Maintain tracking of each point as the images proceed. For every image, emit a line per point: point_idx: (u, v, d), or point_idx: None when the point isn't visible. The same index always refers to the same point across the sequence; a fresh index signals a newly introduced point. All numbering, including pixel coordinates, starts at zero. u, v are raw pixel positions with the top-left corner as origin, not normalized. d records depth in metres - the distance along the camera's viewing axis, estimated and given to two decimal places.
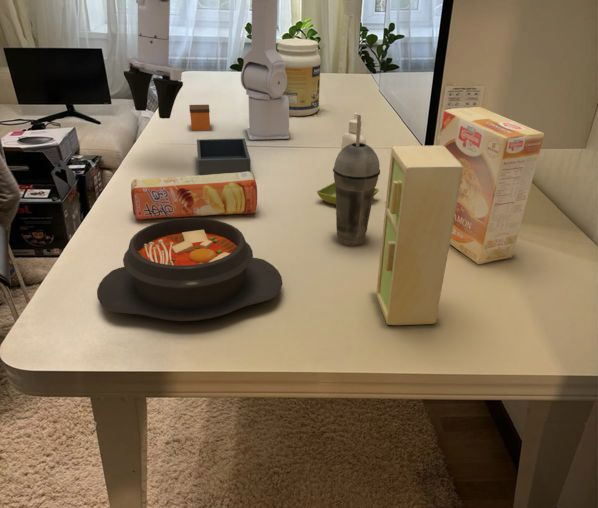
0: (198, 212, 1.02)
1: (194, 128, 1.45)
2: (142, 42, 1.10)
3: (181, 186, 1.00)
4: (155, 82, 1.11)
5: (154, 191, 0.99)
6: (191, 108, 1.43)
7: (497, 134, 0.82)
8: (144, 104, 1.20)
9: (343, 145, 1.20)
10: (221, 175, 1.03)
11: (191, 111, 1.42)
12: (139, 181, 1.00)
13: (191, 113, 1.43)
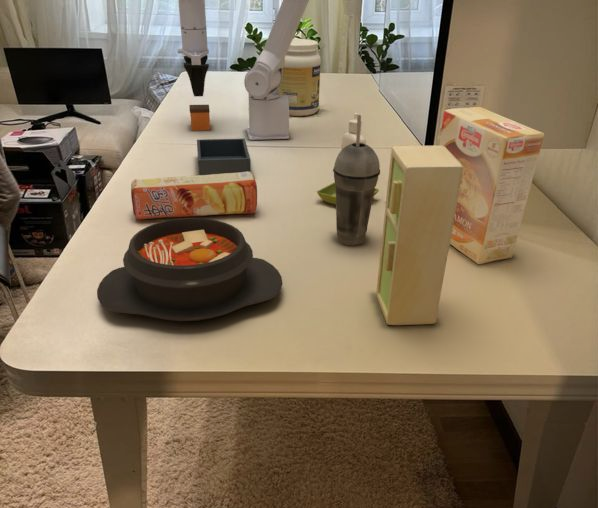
0: (198, 212, 1.02)
1: (194, 128, 1.45)
2: (181, 33, 1.34)
3: (181, 186, 1.00)
4: None
5: (154, 191, 0.99)
6: (191, 108, 1.43)
7: (497, 134, 0.82)
8: None
9: (343, 145, 1.20)
10: (221, 175, 1.03)
11: (191, 111, 1.42)
12: (139, 181, 1.00)
13: (191, 113, 1.43)
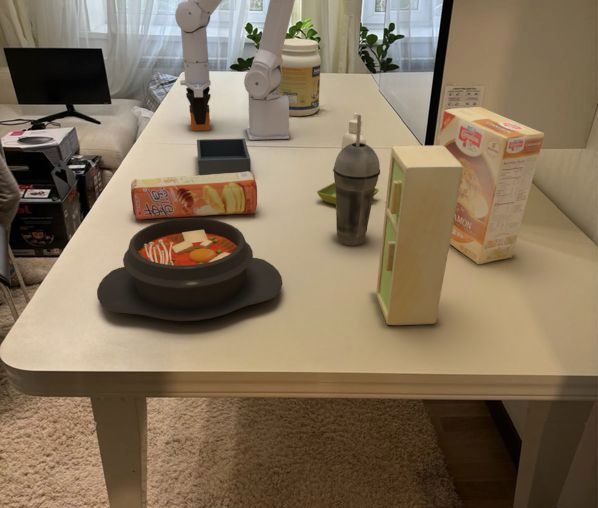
0: (198, 212, 1.02)
1: (194, 128, 1.45)
2: (184, 65, 1.38)
3: (181, 186, 1.00)
4: None
5: (154, 191, 0.99)
6: (191, 108, 1.43)
7: (497, 134, 0.82)
8: None
9: (343, 145, 1.20)
10: (221, 175, 1.03)
11: (191, 111, 1.42)
12: (139, 181, 1.00)
13: (191, 113, 1.43)
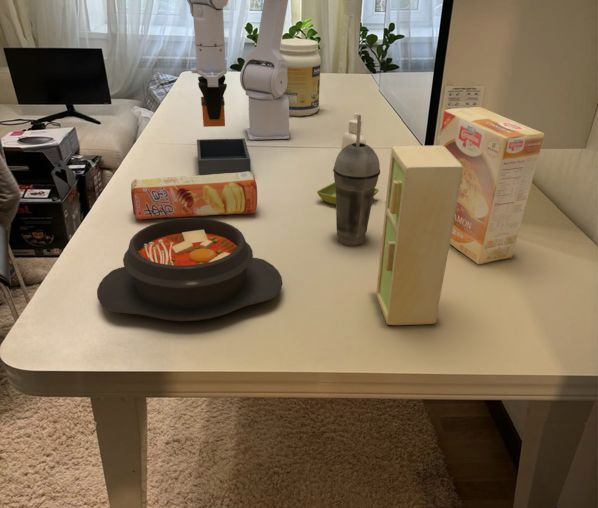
0: (198, 212, 1.02)
1: (206, 124, 1.24)
2: (196, 50, 1.17)
3: (181, 186, 1.00)
4: None
5: (154, 191, 0.99)
6: (203, 100, 1.22)
7: (497, 134, 0.82)
8: None
9: (343, 145, 1.20)
10: (221, 175, 1.03)
11: (203, 104, 1.22)
12: (139, 181, 1.00)
13: (203, 106, 1.22)
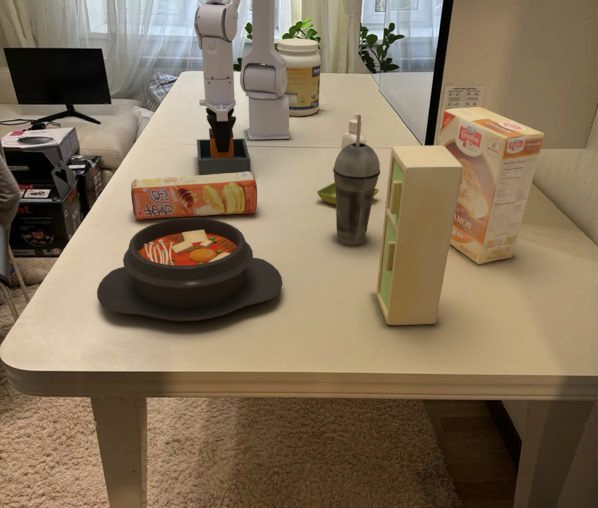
0: (198, 212, 1.02)
1: (214, 156, 1.21)
2: (204, 82, 1.14)
3: (181, 186, 1.00)
4: None
5: (154, 191, 0.99)
6: (211, 133, 1.19)
7: (497, 134, 0.82)
8: None
9: (343, 145, 1.20)
10: (221, 175, 1.03)
11: (211, 136, 1.18)
12: (139, 181, 1.00)
13: (211, 139, 1.18)
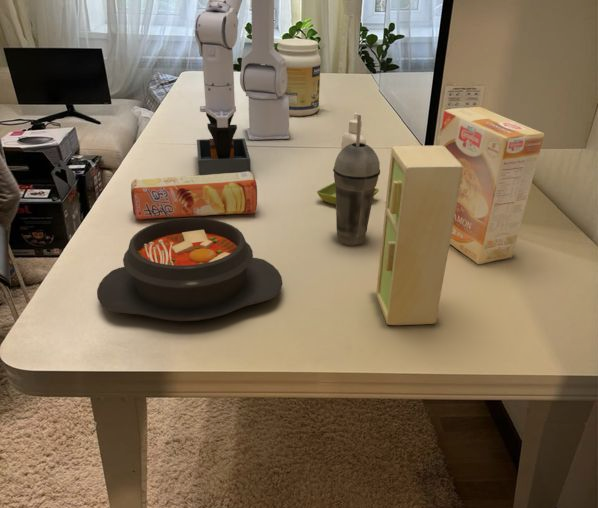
0: (198, 212, 1.02)
1: None
2: None
3: (181, 186, 1.00)
4: None
5: (154, 191, 0.99)
6: (212, 143, 1.20)
7: (497, 134, 0.82)
8: None
9: (343, 145, 1.20)
10: (221, 175, 1.03)
11: (212, 147, 1.19)
12: (139, 181, 1.00)
13: (211, 149, 1.20)
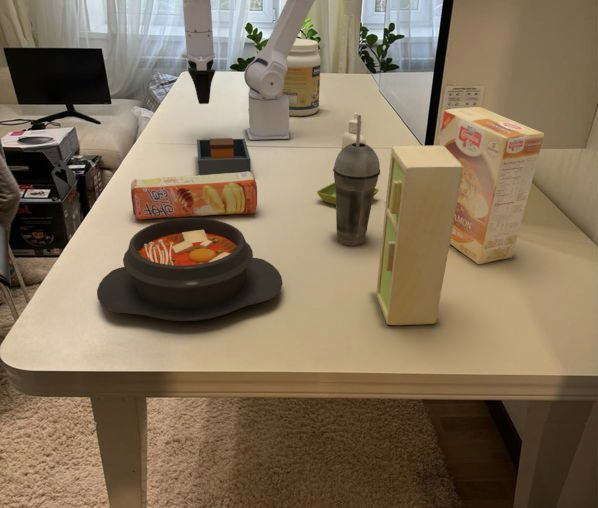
0: (198, 212, 1.02)
1: None
2: (185, 36, 1.24)
3: (181, 186, 1.00)
4: None
5: (154, 191, 0.99)
6: (212, 143, 1.20)
7: (497, 134, 0.82)
8: None
9: (343, 145, 1.20)
10: (221, 175, 1.03)
11: (212, 147, 1.19)
12: (139, 181, 1.00)
13: (211, 149, 1.20)
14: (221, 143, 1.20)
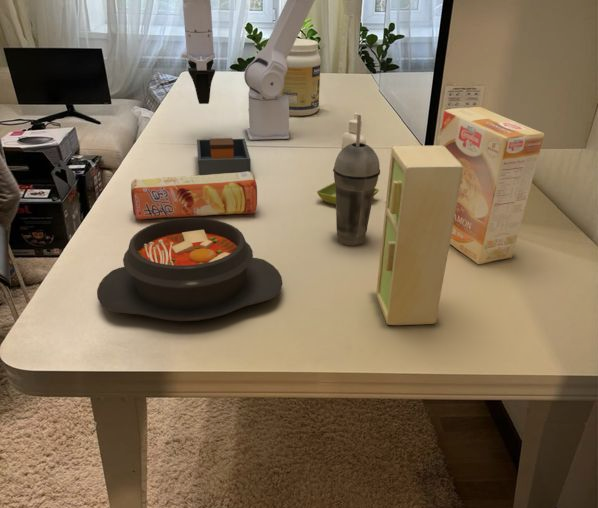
0: (198, 212, 1.02)
1: None
2: (185, 36, 1.25)
3: (181, 186, 1.00)
4: None
5: (154, 191, 0.99)
6: (212, 143, 1.20)
7: (497, 134, 0.82)
8: None
9: (343, 145, 1.20)
10: (221, 175, 1.03)
11: (212, 147, 1.19)
12: (139, 181, 1.00)
13: (211, 149, 1.20)
14: (221, 143, 1.20)
